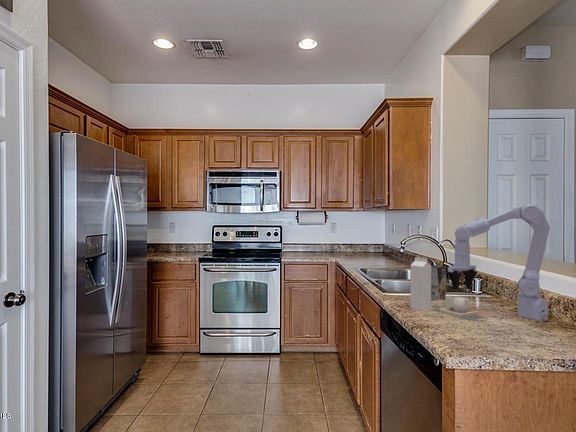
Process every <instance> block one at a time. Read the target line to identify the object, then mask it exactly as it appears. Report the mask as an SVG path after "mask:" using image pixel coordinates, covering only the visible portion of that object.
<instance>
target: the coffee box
mask: <svg viewBox="0 0 576 432" xmlns="http://www.w3.org/2000/svg"><path fill="white" fill-rule="evenodd" d="M430 265H431V264H430ZM446 296H447V265H440V264H439V265H437V264H432V265H431V302H434V301H441V300H446Z"/></svg>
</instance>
